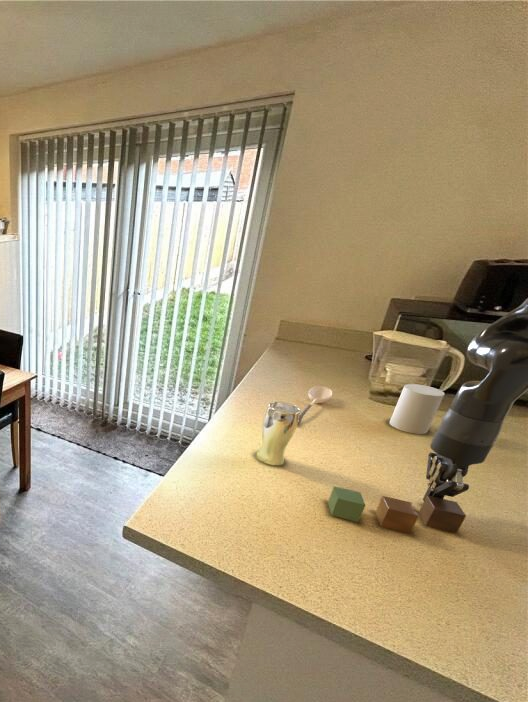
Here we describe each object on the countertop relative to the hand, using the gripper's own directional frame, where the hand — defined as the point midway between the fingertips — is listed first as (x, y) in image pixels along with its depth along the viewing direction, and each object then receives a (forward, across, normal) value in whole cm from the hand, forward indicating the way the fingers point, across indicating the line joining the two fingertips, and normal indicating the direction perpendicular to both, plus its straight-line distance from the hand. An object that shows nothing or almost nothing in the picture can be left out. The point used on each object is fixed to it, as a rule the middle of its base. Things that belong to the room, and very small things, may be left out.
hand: (430, 504), depth 83 cm
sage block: (+1, -10, +16) cm, 19 cm away
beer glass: (+1, +6, +29) cm, 29 cm away
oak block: (+1, -9, +8) cm, 12 cm away
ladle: (+2, +43, +17) cm, 46 cm away
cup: (+2, +43, -7) cm, 44 cm away
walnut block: (+1, -5, 0) cm, 5 cm away
